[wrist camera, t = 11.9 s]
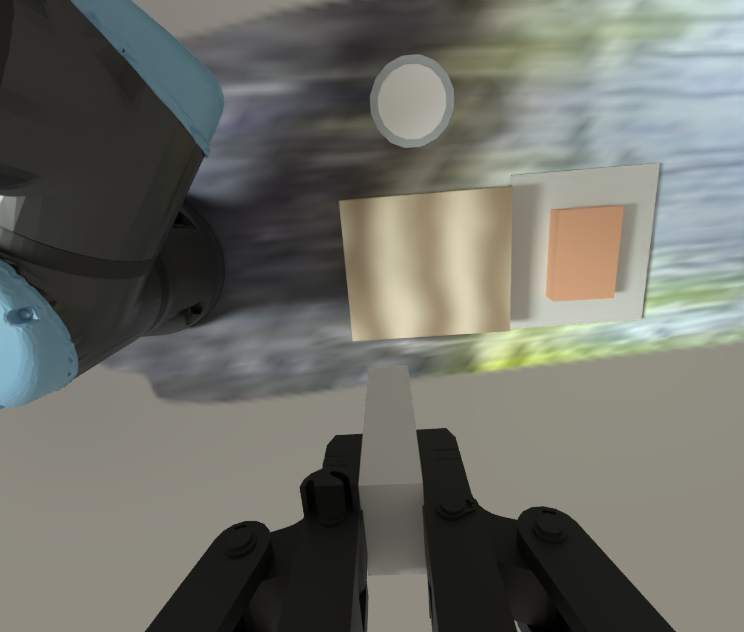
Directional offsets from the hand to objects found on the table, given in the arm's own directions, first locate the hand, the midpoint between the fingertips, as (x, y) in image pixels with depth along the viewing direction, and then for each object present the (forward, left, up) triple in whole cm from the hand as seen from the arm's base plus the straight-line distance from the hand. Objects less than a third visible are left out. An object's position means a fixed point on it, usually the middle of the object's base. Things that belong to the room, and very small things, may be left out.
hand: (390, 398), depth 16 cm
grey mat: (+20, 0, -29) cm, 36 cm away
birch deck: (+4, 0, -29) cm, 30 cm away
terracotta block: (+20, 0, -27) cm, 33 cm away
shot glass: (+3, +14, -30) cm, 33 cm away
